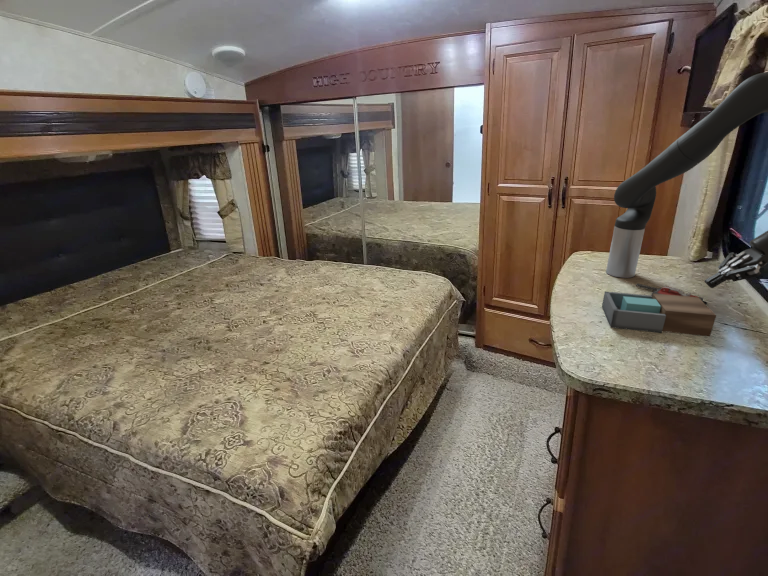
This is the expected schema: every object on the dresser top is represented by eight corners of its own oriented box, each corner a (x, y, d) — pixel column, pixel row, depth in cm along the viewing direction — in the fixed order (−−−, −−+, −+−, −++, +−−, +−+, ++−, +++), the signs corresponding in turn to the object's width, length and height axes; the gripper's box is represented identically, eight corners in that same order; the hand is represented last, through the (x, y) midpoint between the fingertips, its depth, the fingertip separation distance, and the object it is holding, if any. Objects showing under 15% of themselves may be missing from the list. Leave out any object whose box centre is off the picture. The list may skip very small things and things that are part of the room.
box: (601, 306, 123) (604, 291, 121) (647, 311, 119) (651, 295, 118) (610, 327, 111) (613, 310, 109) (661, 333, 107) (666, 315, 105)
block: (651, 315, 115) (619, 312, 117) (655, 299, 113) (623, 296, 115) (656, 323, 110) (623, 319, 113) (661, 306, 109) (627, 303, 111)
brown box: (648, 312, 119) (652, 293, 116) (692, 316, 115) (698, 297, 113) (660, 331, 108) (665, 310, 106) (709, 336, 105) (716, 315, 103)
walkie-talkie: (708, 305, 123) (636, 287, 138) (712, 291, 122) (639, 275, 136) (699, 313, 118) (625, 294, 132) (703, 299, 116) (628, 281, 131)
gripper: (758, 224, 103) (689, 266, 112) (787, 236, 92) (708, 283, 100) (777, 245, 104) (707, 286, 112) (808, 261, 92) (728, 305, 100)
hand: (707, 284), depth 106 cm, fingers closed
